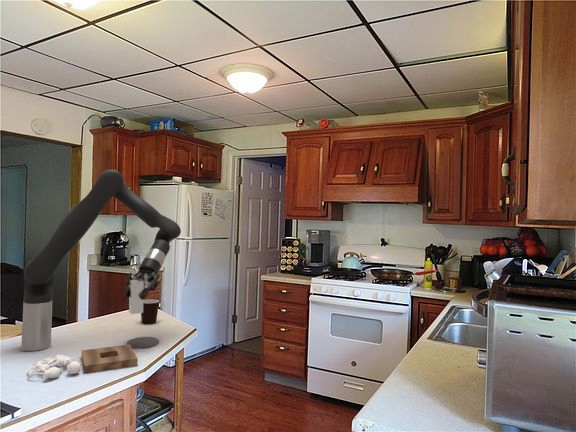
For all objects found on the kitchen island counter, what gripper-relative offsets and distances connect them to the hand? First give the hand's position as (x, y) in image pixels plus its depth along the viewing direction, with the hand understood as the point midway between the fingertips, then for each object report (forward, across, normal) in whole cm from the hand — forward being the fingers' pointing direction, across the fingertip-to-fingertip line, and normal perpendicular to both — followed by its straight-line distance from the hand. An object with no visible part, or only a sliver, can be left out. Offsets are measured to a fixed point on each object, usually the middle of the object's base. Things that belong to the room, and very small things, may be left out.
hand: (133, 297), depth 151 cm
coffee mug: (-11, -17, +39) cm, 44 cm away
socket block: (+23, 0, +4) cm, 23 cm away
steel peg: (+3, 0, +5) cm, 6 cm away
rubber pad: (+9, -1, +19) cm, 21 cm away
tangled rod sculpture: (+32, -11, -4) cm, 34 cm away
